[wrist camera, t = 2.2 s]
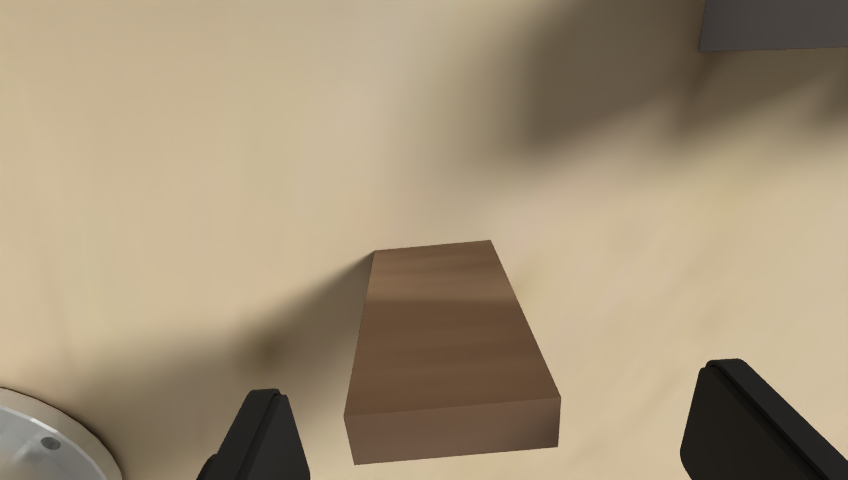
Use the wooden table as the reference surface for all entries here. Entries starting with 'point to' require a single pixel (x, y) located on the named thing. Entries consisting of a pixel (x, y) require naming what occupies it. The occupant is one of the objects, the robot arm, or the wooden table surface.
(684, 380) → the wooden table surface
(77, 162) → the wooden table surface
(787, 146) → the wooden table surface
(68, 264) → the wooden table surface
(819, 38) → the domino
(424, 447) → the domino
